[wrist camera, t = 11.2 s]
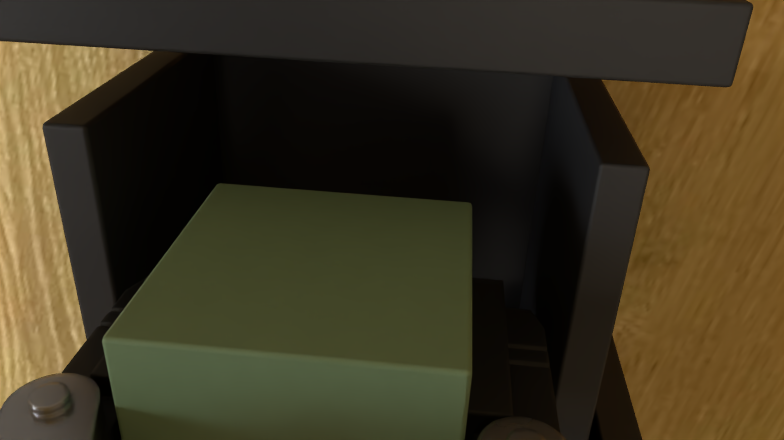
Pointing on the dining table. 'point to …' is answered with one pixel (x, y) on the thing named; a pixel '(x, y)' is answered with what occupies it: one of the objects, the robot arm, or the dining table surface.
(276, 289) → the block
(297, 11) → the drawer
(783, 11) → the dining table surface
